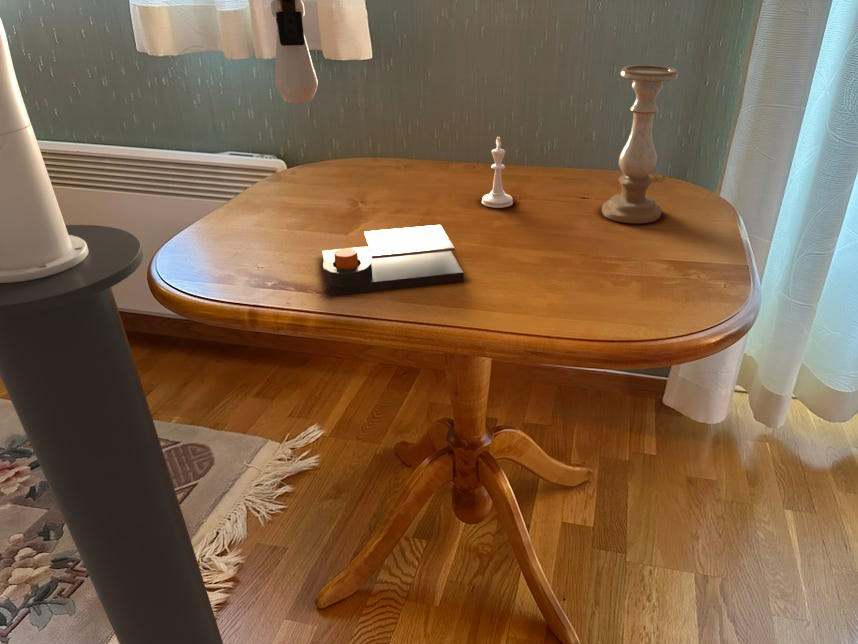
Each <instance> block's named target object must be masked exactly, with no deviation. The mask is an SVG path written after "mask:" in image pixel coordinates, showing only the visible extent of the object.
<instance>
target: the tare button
mask: <svg viewBox="0 0 858 644" xmlns="http://www.w3.org/2000/svg"><path fill="white" fill-rule="evenodd" d="M351 248H352V247H346V248H344V247H343V248H338V249H339V250H337V251H335V253H334V255H335V264H336V268H338V269H353V268H355V267H358V255H357V251H356V250H355V249H351Z"/></svg>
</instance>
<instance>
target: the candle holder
mask: <svg viewBox="0 0 858 644" xmlns="http://www.w3.org/2000/svg"><path fill="white" fill-rule="evenodd" d="M619 74H620V77H621V78H623V79H626V80H631V81H632V83H631V89H632V90H633V91H634V93H635V100H634V102H633V103H632V105H631V106H630V108H629V110H630V111H631V112H632V113H633V116H632V117H633V118H632V123H631V129H630V134H629V136H628V139H627V141H626V143H625V144H624V146H623V147H622V150H621V152H620V154H619V156H618V167H619V169H620V171H621V173H622V175H620V176H619V177H618V182H619V184H620V187H621V193H618V194H614V195H612V196H611V197H610V198H609V199H608V200H607V201H605V202H603V204H602V205H601V213H602V215H603V216H604V217H606V218H607V219H609V220H612V221H615V222H619V223H624V224H625V223H626V224H648V223H653V222H656V221H658V220H659V219H660V218H661V215H662V208H661V206H659V205H658V204H657V203H656V201H655V199H654V198H652V197H650V196H648V195H646V192H647V189H648V188H649V187H650V186H651V185H652V183H653V182H652V178H651V177H650V176H649V175H651V174H652V173H653V172H654V170H655V169H656V167H657V164H658V155H657V152H656V148H655V144H654V141H653V124H654V118H655V114H657V113H659V107H658V104H657V102H656V100H657V96H658V95H659V93H660V92H661V91H662V90H663V89H664V82H670V81H674V80H676V79H678V77H679V72H678V70H677V69H676V68H674V67H671V66H665V65H664V66H663V65H656V64H655V65H652V64H634V65H627V66H623V67H622V68H621V70H620V73H619Z"/></svg>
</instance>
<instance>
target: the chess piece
mask: <svg viewBox="0 0 858 644" xmlns="http://www.w3.org/2000/svg"><path fill="white" fill-rule="evenodd" d="M495 144H496V147H495V148H493V149H492V150H491V154H492V157H493V162H494V163H493V164H491V166H490V168H491V169H492V170H494V174H493V182H492V189H491V190H490V192H489V193H486V194H484V195H483V196H482V198H481V204H482V205H483V206H484V207H488V208H494V209H502V208H503V209H504V208H508V207H511V206H512V205H513V203H514V197H512V196H511V195H510V194H508V193H506V191H504V187H503V179H502V178H503V177H502V176H503V175H502V170H505V169H506V166H505V164H503V163H502V162H503V160H504V157H505V154H506V150H505V149H503V148H501V147H502V142H501V136H496V140H495Z"/></svg>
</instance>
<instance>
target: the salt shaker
mask: <svg viewBox="0 0 858 644" xmlns="http://www.w3.org/2000/svg"><path fill="white" fill-rule="evenodd" d="M298 2H299V10H300V12H301V14H302V18H303V17H305V4H304V2H303V1H302V0H298ZM281 6H282V5H281ZM270 10H271V15H272V17H274V18H275V19H276V18H277V16H276V12H278V8H277V1H276V0H272V1H271V2H270ZM304 40H305V43H304V45H295V46H282V45H281V44H280V39H279V31H278V24H277V23H276V43H275V44H276V45H275V46H276V47H275V50H276V51H275V71H274V73H275V74H274V84H275V87H276V89H277V91H278V93H279V94H280V96H281V98H282V100H283V102H286V103H288V104H306V103H311V102H313V100H314V98H315V94H316V92H317V89H318V85H319V83H318V82H319V81H318V78H317V75H316V70H315V67H314V64H313V60H312V56H311V53H310V49H309V46H308V42H307V38H306V36H305V34H304Z"/></svg>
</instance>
